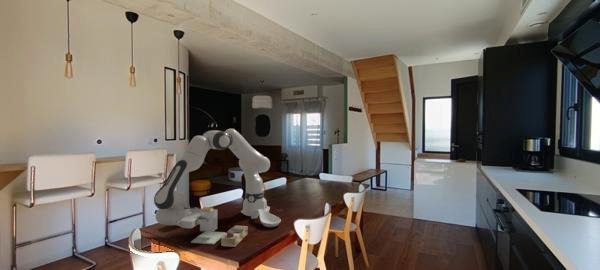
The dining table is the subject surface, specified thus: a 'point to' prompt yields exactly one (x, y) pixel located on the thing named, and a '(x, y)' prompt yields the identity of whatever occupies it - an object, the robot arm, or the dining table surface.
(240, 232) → the block plane
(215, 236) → the mat
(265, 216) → the spoon rest
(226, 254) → the dining table surface
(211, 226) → the grey tall block
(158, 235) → the dining table surface
